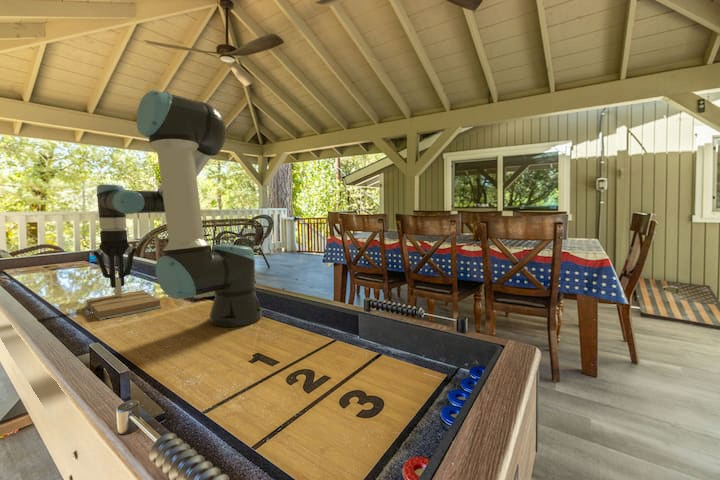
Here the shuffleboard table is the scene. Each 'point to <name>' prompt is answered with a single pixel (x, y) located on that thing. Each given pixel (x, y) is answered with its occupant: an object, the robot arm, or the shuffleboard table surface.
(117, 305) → the wooden card stand
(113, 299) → the wavy wooden board
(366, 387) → the shuffleboard table surface
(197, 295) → the stone slab
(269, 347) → the shuffleboard table surface
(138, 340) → the shuffleboard table surface
